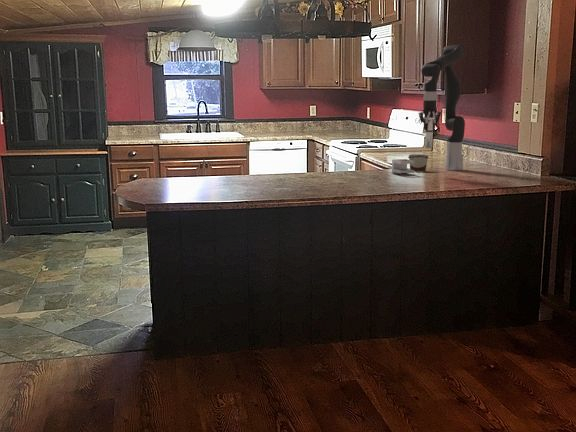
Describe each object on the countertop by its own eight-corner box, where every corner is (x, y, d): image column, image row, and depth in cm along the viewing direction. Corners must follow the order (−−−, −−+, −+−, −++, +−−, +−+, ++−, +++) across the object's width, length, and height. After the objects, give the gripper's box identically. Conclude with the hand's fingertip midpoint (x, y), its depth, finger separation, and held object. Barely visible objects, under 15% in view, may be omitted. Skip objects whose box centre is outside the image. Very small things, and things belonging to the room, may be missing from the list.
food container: (427, 170, 404) (427, 154, 402) (428, 171, 398) (428, 155, 396) (407, 170, 405) (407, 154, 403) (407, 171, 399) (408, 155, 397)
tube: (430, 146, 379) (430, 119, 376) (433, 147, 376) (434, 119, 372) (423, 147, 378) (424, 119, 375) (427, 147, 374) (428, 119, 371)
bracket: (403, 172, 392) (404, 158, 391) (414, 175, 380) (414, 160, 378) (390, 173, 389) (390, 159, 388) (400, 176, 377) (400, 161, 376)
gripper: (437, 99, 377) (436, 129, 380) (415, 99, 373) (415, 129, 376) (444, 99, 370) (443, 129, 373) (422, 100, 366) (421, 130, 369)
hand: (429, 129), depth 375 cm, fingers closed on tube, 4 cm apart
